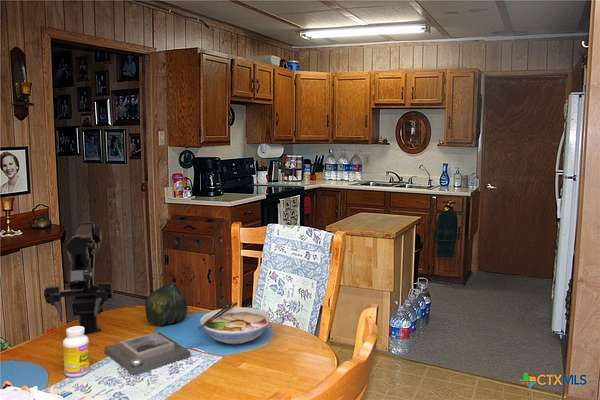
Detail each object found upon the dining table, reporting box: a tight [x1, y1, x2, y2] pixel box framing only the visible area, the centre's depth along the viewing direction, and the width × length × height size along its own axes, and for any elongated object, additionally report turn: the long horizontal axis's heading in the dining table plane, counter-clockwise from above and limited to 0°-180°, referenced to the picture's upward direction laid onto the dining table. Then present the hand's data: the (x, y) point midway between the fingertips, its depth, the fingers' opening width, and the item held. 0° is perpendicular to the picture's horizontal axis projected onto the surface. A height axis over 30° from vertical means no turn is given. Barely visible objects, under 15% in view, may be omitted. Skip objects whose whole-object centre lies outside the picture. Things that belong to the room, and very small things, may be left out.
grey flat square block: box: [104, 331, 191, 376], centre depth 161 cm, size 20×18×4 cm
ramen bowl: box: [197, 301, 272, 346], centre depth 172 cm, size 25×23×8 cm
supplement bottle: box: [62, 325, 91, 378], centre depth 148 cm, size 7×7×13 cm
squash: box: [144, 282, 189, 327], centre depth 188 cm, size 14×15×15 cm
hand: (78, 318), depth 155 cm, fingers open, 9 cm apart
